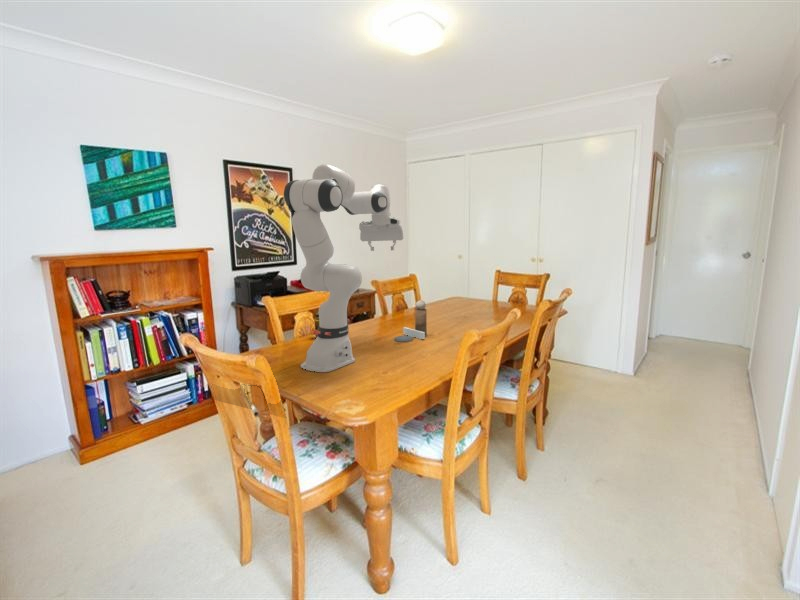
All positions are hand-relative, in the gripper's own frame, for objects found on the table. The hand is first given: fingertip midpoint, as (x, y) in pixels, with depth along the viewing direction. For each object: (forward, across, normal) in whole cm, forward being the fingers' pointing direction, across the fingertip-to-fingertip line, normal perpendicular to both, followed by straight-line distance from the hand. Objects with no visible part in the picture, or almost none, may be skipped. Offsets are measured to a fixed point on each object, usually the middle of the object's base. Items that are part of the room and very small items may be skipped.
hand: (382, 250), depth 187 cm
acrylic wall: (+42, +14, -3) cm, 44 cm away
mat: (+42, +9, -7) cm, 43 cm away
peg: (+42, +18, +1) cm, 46 cm away
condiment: (+42, -31, -1) cm, 52 cm away
